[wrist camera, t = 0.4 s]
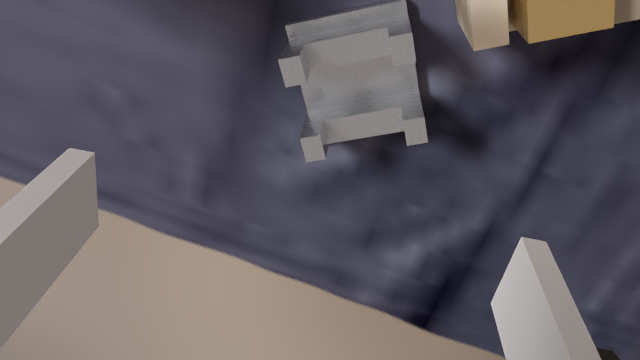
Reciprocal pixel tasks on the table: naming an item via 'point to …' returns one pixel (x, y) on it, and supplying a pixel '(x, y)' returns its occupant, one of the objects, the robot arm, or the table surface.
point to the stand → (354, 75)
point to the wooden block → (560, 17)
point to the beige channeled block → (495, 21)
